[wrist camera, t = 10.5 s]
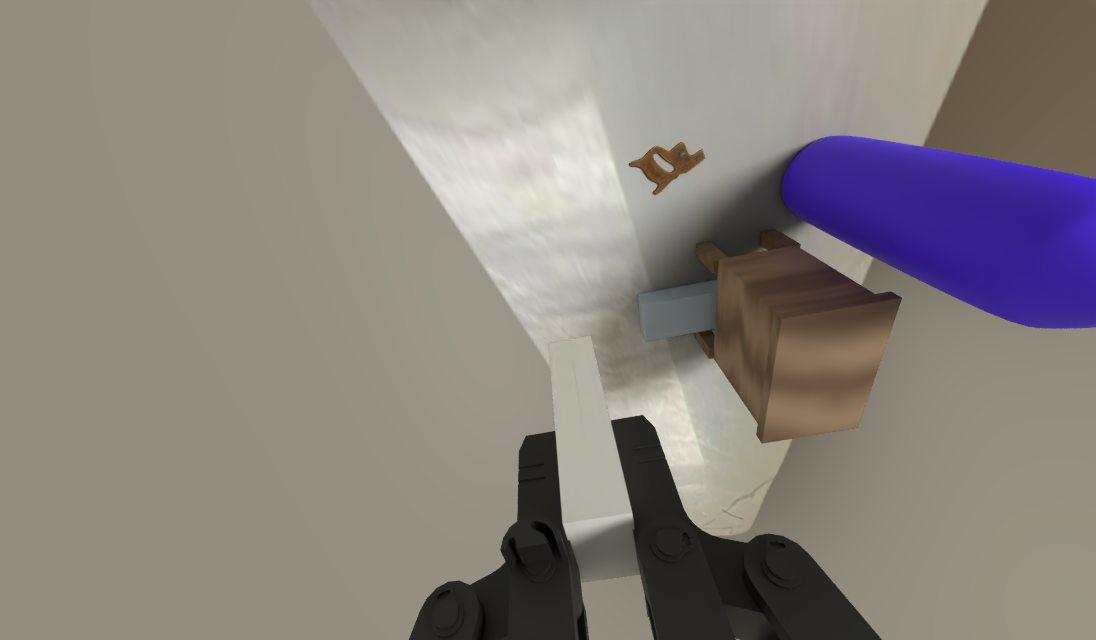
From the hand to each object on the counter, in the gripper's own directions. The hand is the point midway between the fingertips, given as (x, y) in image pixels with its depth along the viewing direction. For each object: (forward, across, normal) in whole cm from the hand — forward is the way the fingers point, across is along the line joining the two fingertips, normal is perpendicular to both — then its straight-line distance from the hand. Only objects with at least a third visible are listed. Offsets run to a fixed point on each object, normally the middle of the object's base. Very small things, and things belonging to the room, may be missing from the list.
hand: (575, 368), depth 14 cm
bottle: (+29, +27, -5) cm, 40 cm away
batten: (+29, +16, -17) cm, 37 cm away
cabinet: (+29, +19, -16) cm, 38 cm away
